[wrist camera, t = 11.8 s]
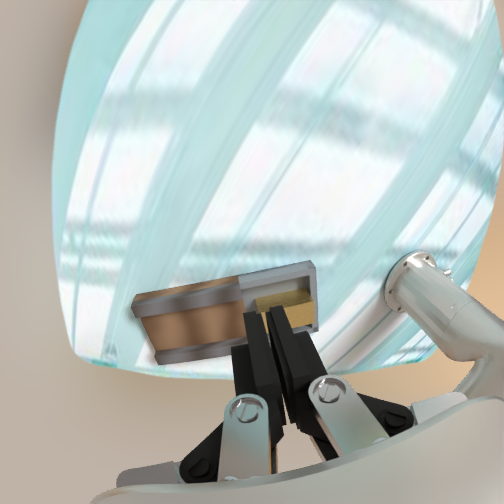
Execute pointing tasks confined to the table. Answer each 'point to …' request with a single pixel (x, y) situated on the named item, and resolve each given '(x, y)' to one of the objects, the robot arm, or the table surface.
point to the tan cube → (299, 307)
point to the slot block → (193, 320)
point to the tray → (280, 286)
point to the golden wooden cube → (269, 305)
